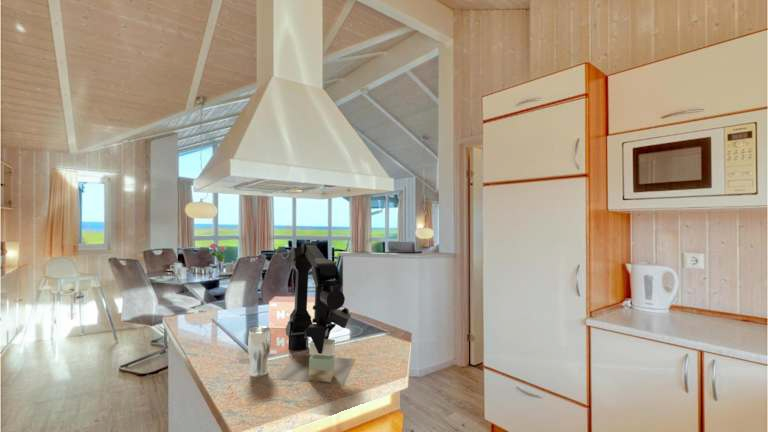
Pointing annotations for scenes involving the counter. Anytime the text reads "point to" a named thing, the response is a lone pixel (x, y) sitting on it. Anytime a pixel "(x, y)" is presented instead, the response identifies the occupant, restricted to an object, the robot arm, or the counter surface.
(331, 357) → the sage green block
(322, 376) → the maple base block
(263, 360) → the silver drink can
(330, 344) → the cream block
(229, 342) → the counter surface
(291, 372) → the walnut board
